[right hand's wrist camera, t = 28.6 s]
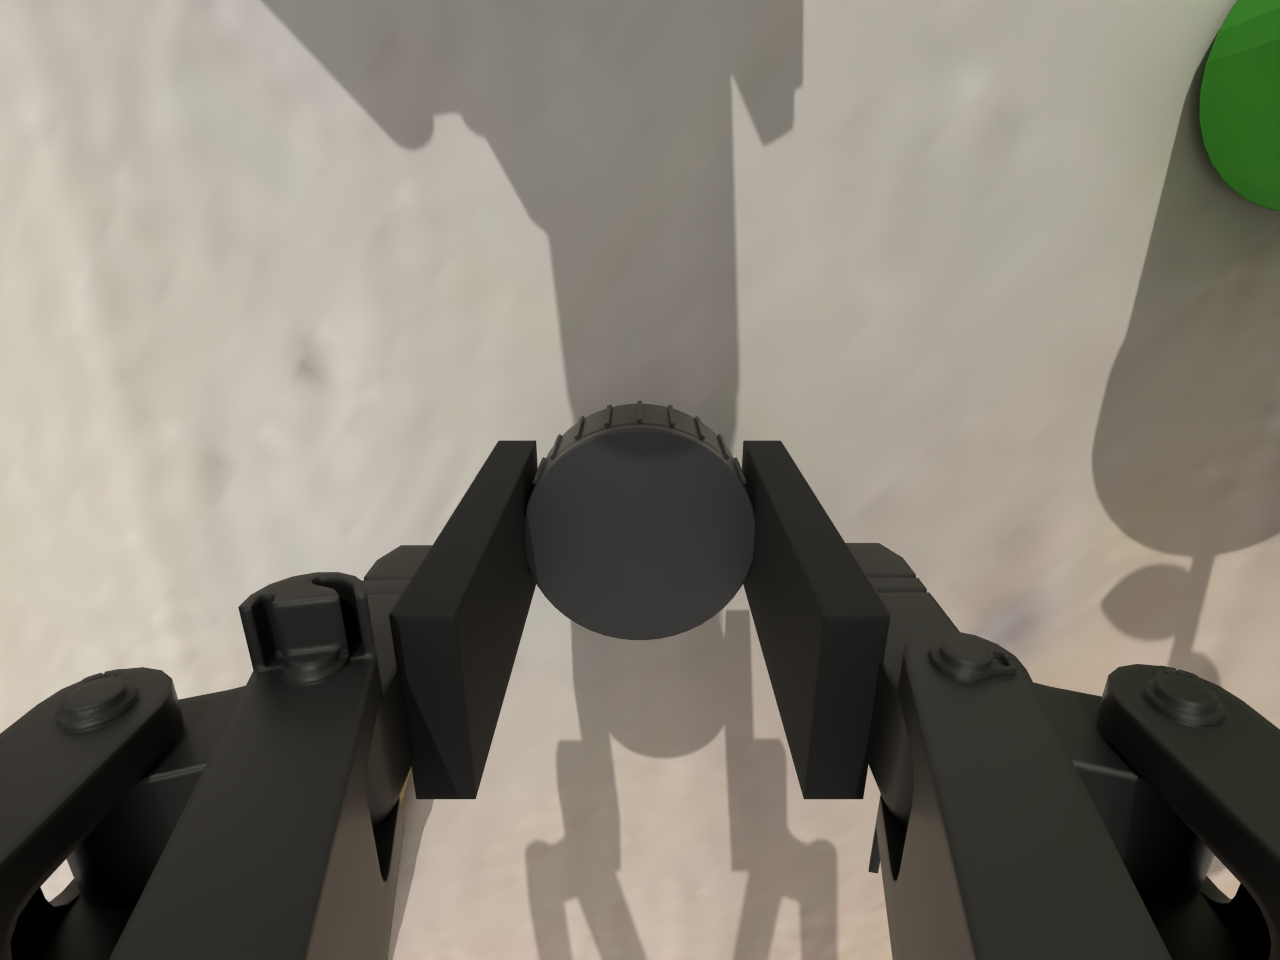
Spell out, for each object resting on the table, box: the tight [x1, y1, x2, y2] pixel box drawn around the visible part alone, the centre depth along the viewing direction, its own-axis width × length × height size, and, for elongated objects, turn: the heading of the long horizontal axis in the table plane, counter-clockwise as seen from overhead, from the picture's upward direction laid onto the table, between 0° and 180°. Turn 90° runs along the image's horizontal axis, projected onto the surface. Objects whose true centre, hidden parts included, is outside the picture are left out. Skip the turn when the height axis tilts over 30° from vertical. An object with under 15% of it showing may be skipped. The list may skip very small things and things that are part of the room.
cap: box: [524, 401, 755, 640], centre depth 13 cm, size 4×4×2 cm
